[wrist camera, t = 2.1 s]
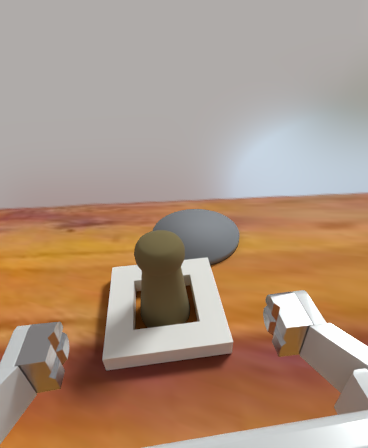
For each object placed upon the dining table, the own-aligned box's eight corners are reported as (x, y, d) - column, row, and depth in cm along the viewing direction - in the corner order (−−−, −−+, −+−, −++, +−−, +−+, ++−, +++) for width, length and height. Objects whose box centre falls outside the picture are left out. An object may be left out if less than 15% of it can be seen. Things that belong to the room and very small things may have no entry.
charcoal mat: (154, 271, 40) (154, 266, 40) (151, 217, 52) (150, 212, 51) (250, 260, 41) (251, 255, 41) (226, 210, 53) (226, 206, 52)
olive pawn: (134, 329, 33) (119, 256, 26) (147, 289, 37) (137, 220, 31) (186, 335, 32) (184, 262, 25) (193, 294, 37) (192, 224, 30)
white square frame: (105, 370, 29) (102, 359, 28) (115, 278, 39) (112, 267, 38) (231, 353, 30) (233, 342, 29) (207, 267, 40) (207, 257, 39)
